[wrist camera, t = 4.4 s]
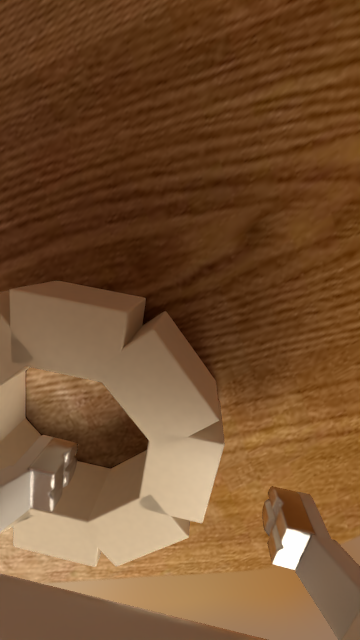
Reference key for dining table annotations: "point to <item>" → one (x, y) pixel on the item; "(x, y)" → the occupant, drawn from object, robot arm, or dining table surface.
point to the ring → (138, 402)
